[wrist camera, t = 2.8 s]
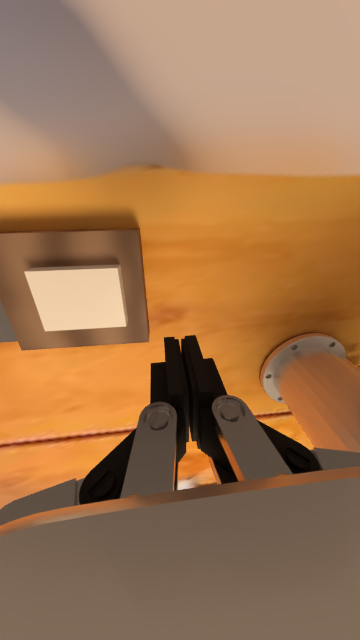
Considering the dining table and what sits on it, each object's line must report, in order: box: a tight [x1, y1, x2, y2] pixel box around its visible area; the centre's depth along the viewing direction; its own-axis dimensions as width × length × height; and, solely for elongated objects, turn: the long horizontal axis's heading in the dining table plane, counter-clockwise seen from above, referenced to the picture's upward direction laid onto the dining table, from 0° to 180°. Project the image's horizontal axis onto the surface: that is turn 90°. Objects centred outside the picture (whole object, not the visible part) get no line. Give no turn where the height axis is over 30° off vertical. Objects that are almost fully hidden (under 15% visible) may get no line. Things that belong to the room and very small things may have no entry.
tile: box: [24, 264, 128, 331], centre depth 21 cm, size 8×6×2 cm
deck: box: [0, 228, 150, 350], centre depth 23 cm, size 14×12×2 cm
